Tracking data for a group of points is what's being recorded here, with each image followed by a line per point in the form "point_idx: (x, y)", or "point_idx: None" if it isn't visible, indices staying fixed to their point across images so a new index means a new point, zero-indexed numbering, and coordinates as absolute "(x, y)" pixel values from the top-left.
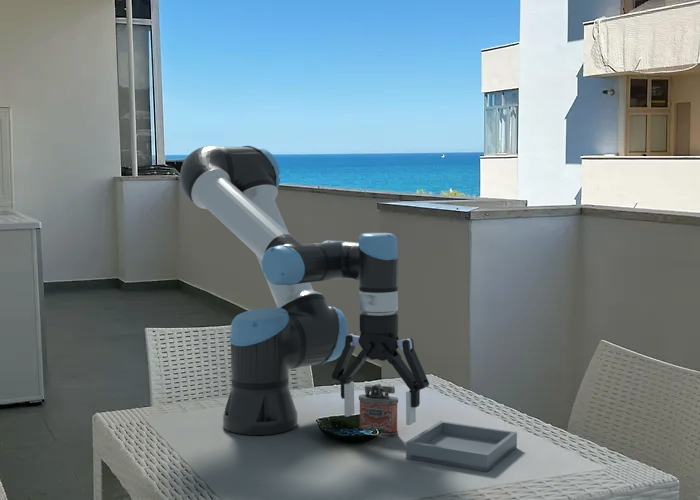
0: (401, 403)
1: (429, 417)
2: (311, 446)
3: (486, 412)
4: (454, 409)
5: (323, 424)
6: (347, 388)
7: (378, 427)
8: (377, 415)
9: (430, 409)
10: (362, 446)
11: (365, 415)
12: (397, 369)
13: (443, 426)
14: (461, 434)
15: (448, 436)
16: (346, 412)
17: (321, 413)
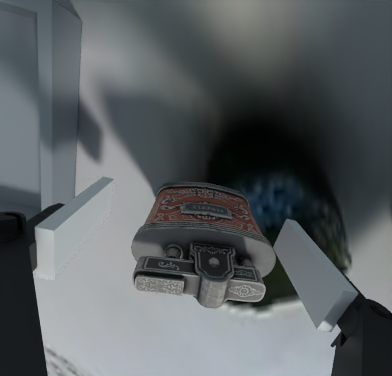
0: (203, 369)
1: (134, 315)
2: (353, 59)
3: (53, 353)
4: (108, 357)
5: (333, 238)
6: (333, 276)
7: (198, 193)
8: (200, 203)
9: (147, 351)
10: (218, 98)
11: (237, 211)
12: (24, 351)
13: None
14: (9, 205)
15: (38, 196)
16: (295, 225)
17: None
